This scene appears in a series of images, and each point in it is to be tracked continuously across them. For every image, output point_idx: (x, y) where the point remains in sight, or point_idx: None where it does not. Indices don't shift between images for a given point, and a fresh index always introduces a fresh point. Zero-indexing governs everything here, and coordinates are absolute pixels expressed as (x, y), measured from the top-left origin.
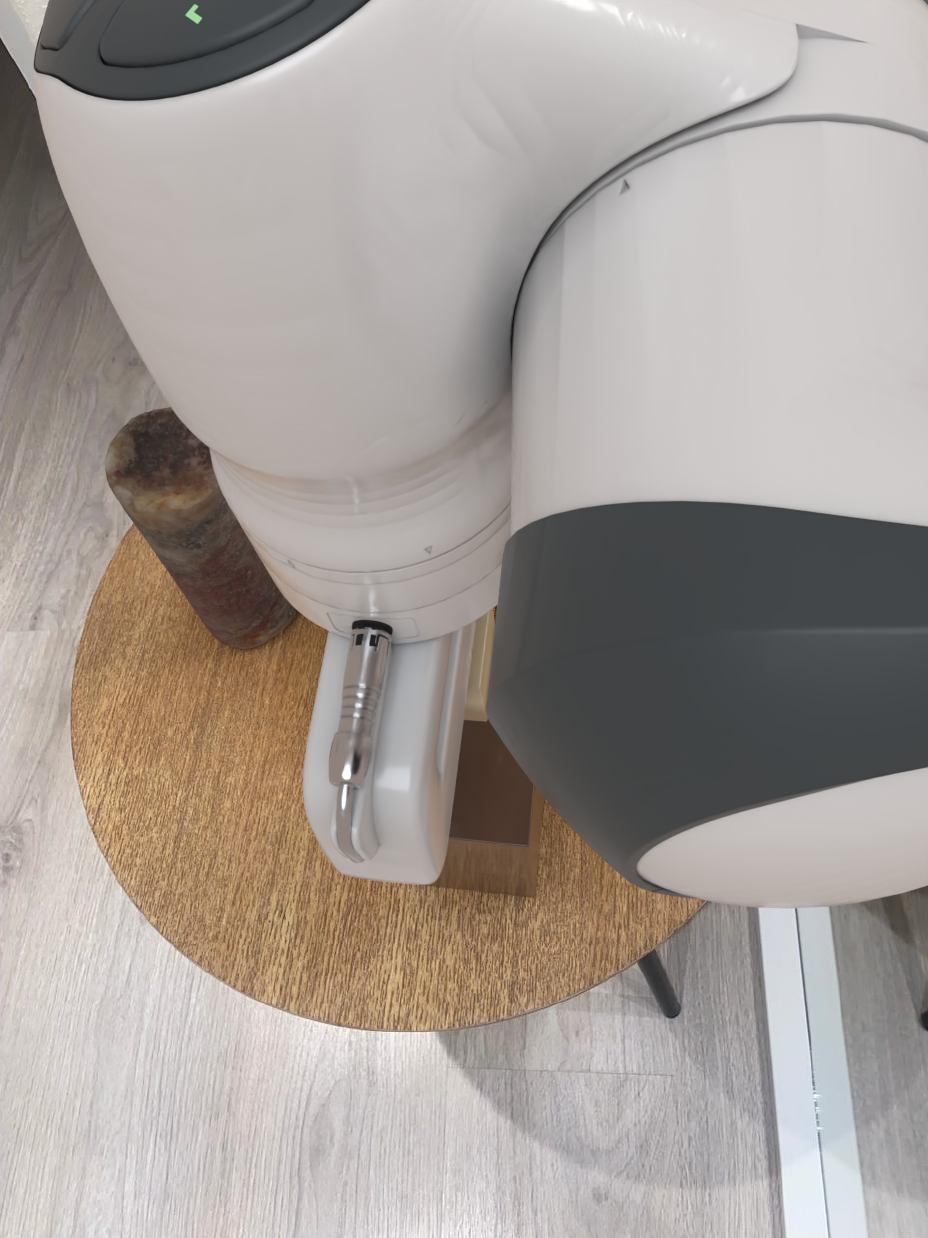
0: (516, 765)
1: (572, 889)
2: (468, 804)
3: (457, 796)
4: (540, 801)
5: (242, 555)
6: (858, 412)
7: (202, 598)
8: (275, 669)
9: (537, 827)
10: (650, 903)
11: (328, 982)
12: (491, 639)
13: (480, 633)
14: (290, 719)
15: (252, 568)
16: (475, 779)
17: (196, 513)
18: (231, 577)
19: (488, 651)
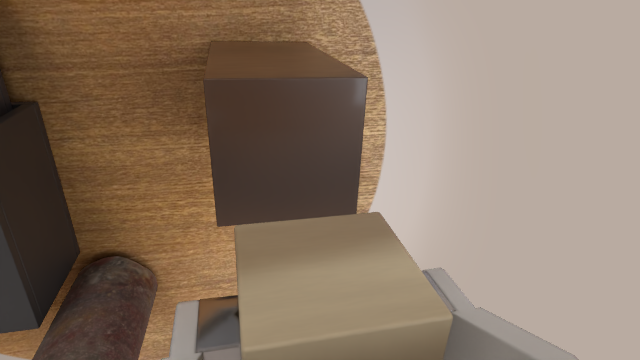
0: (287, 99)
1: (297, 11)
2: (330, 140)
3: (323, 151)
4: (255, 50)
5: (99, 352)
6: None
7: (140, 345)
8: (165, 253)
9: (283, 52)
10: None
11: (366, 169)
12: (290, 273)
13: (336, 344)
14: (201, 234)
15: (104, 331)
16: (305, 137)
17: None
18: (120, 344)
19: (331, 285)
